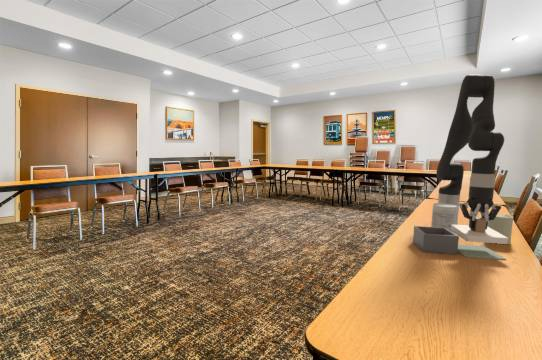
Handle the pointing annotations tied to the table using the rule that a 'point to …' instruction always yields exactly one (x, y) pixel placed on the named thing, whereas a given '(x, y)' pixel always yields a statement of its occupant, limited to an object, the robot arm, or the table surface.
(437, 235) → the box
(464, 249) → the mat
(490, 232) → the lid
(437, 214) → the supplement tub
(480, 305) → the table surface
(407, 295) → the table surface
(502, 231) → the can
